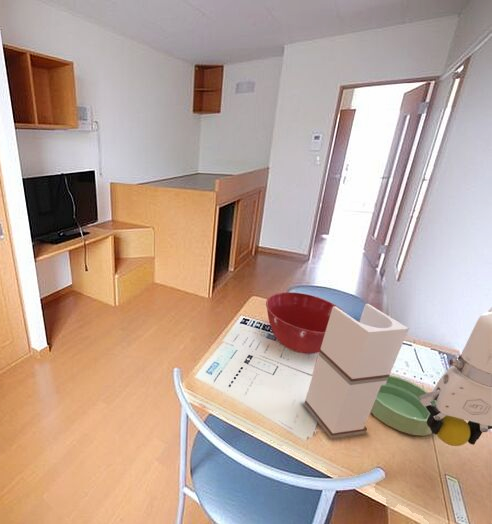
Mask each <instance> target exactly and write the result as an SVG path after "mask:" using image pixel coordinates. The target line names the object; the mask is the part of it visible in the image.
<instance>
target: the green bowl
mask: <svg viewBox="0 0 492 524" xmlns="http://www.w3.org/2000/svg"><path fill="white" fill-rule="evenodd" d="M426 393H429V392H428V391H427V390H425V389H424V388H422V387H421V386H419V385H418V384H416V383H414V382H412V381H410V380H407V379H404V378H402V377H400V376H396V375H392V374H390V375H389V377H388V380H387V382H386V384H385V385H381V387H380V390H379V392H378V395H377V397H376V400H375V402H374V404H373V407H372V409H371V412H370V414H372V415H373V416H374V417H375V418H376V419H378V420H379V421H381V422H382V423H384V424H385V425H387V426H388V427H390V428H393V429H395V430H397V431H399V432H402V433H405V434H408V435H413V436H421V437H425V436H429V435H432V434H433V433H432V431H431V429H430V427H428V425H427V420H428V417H429V415H430V412H429V411H428V410H427V408H426V407H424V406H423V404H422V403H421V402H420V401H419V399H418V396H420V395H423V394H426ZM436 402H437V401H436V400H435V401H432V402H430V403H431V404H432V405H434V404H435V403H436ZM438 411H439V410H438Z"/></svg>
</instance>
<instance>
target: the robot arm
mask: <svg viewBox="0 0 492 524" xmlns="http://www.w3.org/2000/svg"><path fill="white" fill-rule="evenodd" d="M448 363H449V365H450V367H449V368H448V369H447V370H445V372H444V373H443V375H441V377H440V378H439V380H438V381H437V383H436V384H435V387H434V388H433V390H432V391H429V392H428V393H426V394H423V395H420V396H418V399H419V401H420V402H421V403H422V404H423V406H424V407H426V408H427V410H428V411H429V412H430V415H429V417H428V420H427V425H428V427H430V429H431V431H432V434H433V435H436V434H438V432H439V430H440V428H441V426H442V424H443V421H442V420H441V419H442V418H444V417H445V416H446V415H449V416H452V417H456V418H460V419H464V420H465V421H468V422H467V424H468V425H469V427H470V438H469V440H468V441H467V443H468V444H470V445H473V446H474V445H475V444H476V442H477V441H478V440H479V439H480V437H481V436H482V434H483V433H488V432H489V430H492V307H491V308H490V309H488V311H487V312H485V313H482V314H481V315H480V316H479V317H478V319H477V320H476V322H475V324H474V327H473V329H472V330H471V333H470V334H469V336H468V339H467V341H466V343H465V345H464V347H463V349H462V351H461V354H460V355H458V358H456V359H453V358H450V359H449V362H448ZM435 400H436V401H437V402H436V403H435V404H434V405H432V404H431V403H430V402H432V401H435ZM438 410H439V411H438Z"/></svg>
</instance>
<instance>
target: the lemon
mask: <svg viewBox="0 0 492 524" xmlns="http://www.w3.org/2000/svg"><path fill="white" fill-rule="evenodd" d="M441 420H442V421H443V424H442V426H441V428H440V430H439V432H438V434H435V436H436V437H437V438H438V439H439V440H440V441H441V442H443V443H444V444H447V445H448V446H449V445H450V446H454V447H460V446H463V445H465V444H466V443H468V440H469V438H470V427H469V425H468V424H467V423H468V422H467V420H464V419H460V418H456V417H452V416H449V415H446V416H445V417H444V418H442V419H441Z"/></svg>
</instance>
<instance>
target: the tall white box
mask: <svg viewBox="0 0 492 524" xmlns="http://www.w3.org/2000/svg"><path fill="white" fill-rule="evenodd" d="M336 306H337V305H336ZM336 306H334V307H333V308H332V311H331V315H330V318H329V321H328V325H327V328H326V332H325V335H324V339H323V342H322V345H321V349H320V352H318V355H317V360H316V363H315V366H314V369H313V372H312V376H311V379H310V383H309V387H308V390H307V392H306V393H307V394H306V397H305V399H304V403H303V405H304V407H305V408H306V409H307V411H308V413H310V415H311V416H312V417H313V419H315V421H316V422H317V424H319V426H320V427H321V429H322V430H323V431H324V432H325V434H326V435H327V436H328V437H329V439H338V438H345V437H352V436H357V435H358V436H359V435H365V434H366V432H367V430H368V427H367V426H366V423H367V422H368V419H369V416H370V415H371V409H372V407H373V404H374V402H375V400H376V397H377V395H378V392H379V390H380V387H381V385H385V384H386V382H387V380H388V377H389V375H391V373H392V370H393V368H394V365H395V363H396V361H397V358H398V355H399V353H400V351H401V348H402V346H403V344H404V341H405V339H406V336H407V334H408V332H409V327H407V326H405V325H404V324H403V323H401V322H399V321H397V320H396V319H394V318H392V317H391V316H390V315H388V314H386V313H385V312H383V311H381V310H379V309H378V308H376V307H375V306H373V305H371V304H369V303H365V304H364V307H363V310H362V313H361V315H360V318H359V321H358V320H356V319H355V318H353V317H352V316H350V315H349V314H348V313H346V312H345V311H344V310H343V309H342V310H343V311H344V312H343V311H342V310H340V309H341V308H340V307H339V308H340V309H339V308H337V307H336Z"/></svg>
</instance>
